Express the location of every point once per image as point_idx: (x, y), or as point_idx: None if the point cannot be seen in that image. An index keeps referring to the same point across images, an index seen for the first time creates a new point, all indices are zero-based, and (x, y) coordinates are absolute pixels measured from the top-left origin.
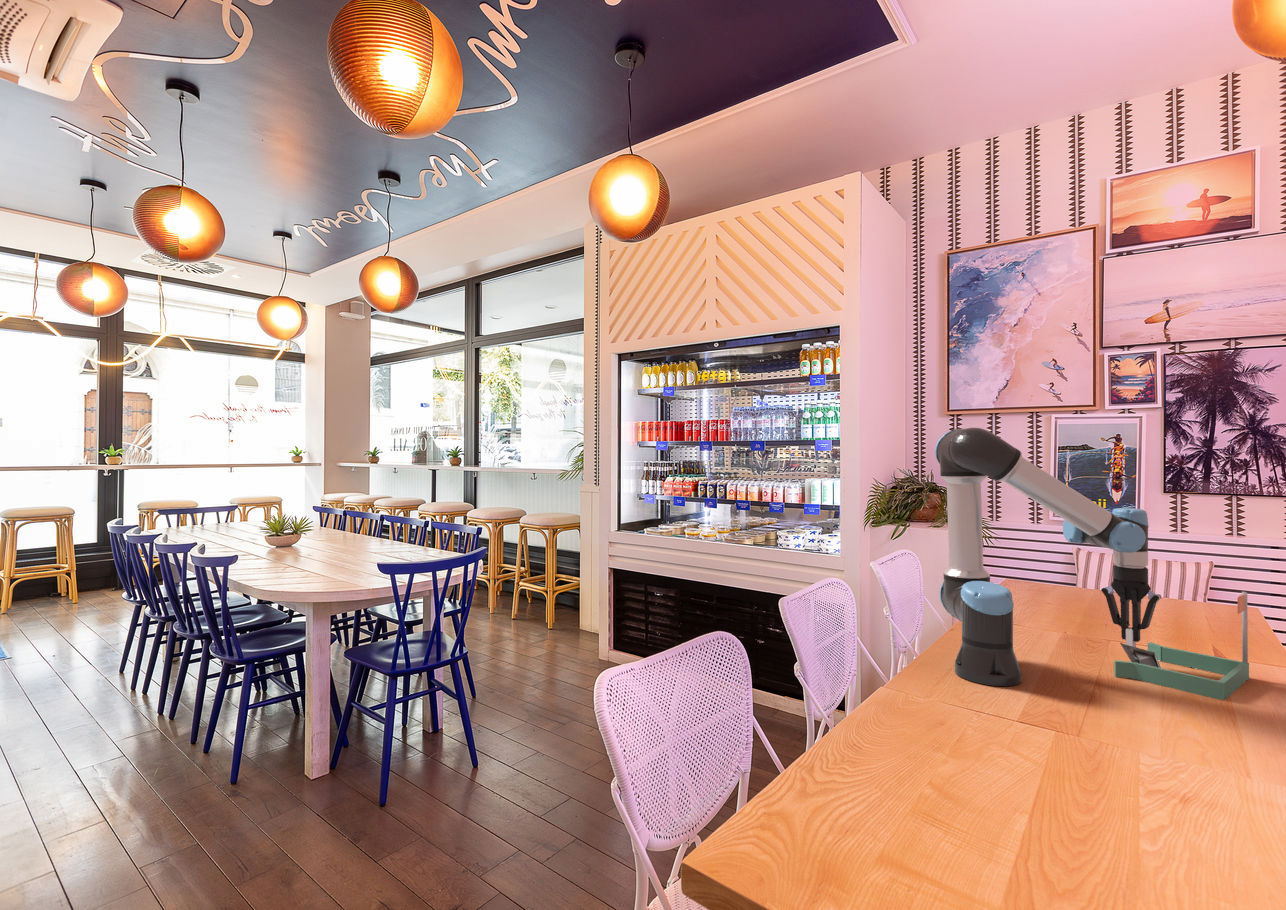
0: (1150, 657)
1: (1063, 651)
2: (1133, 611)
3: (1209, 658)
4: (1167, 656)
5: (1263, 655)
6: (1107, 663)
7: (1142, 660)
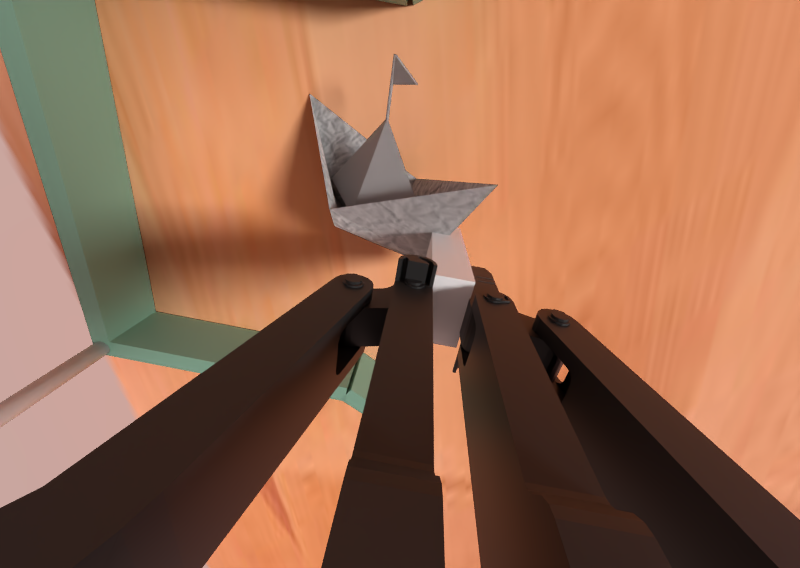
0: (355, 200)
1: (696, 263)
2: (418, 382)
3: (204, 354)
4: None
5: None
6: (524, 195)
7: (380, 130)
